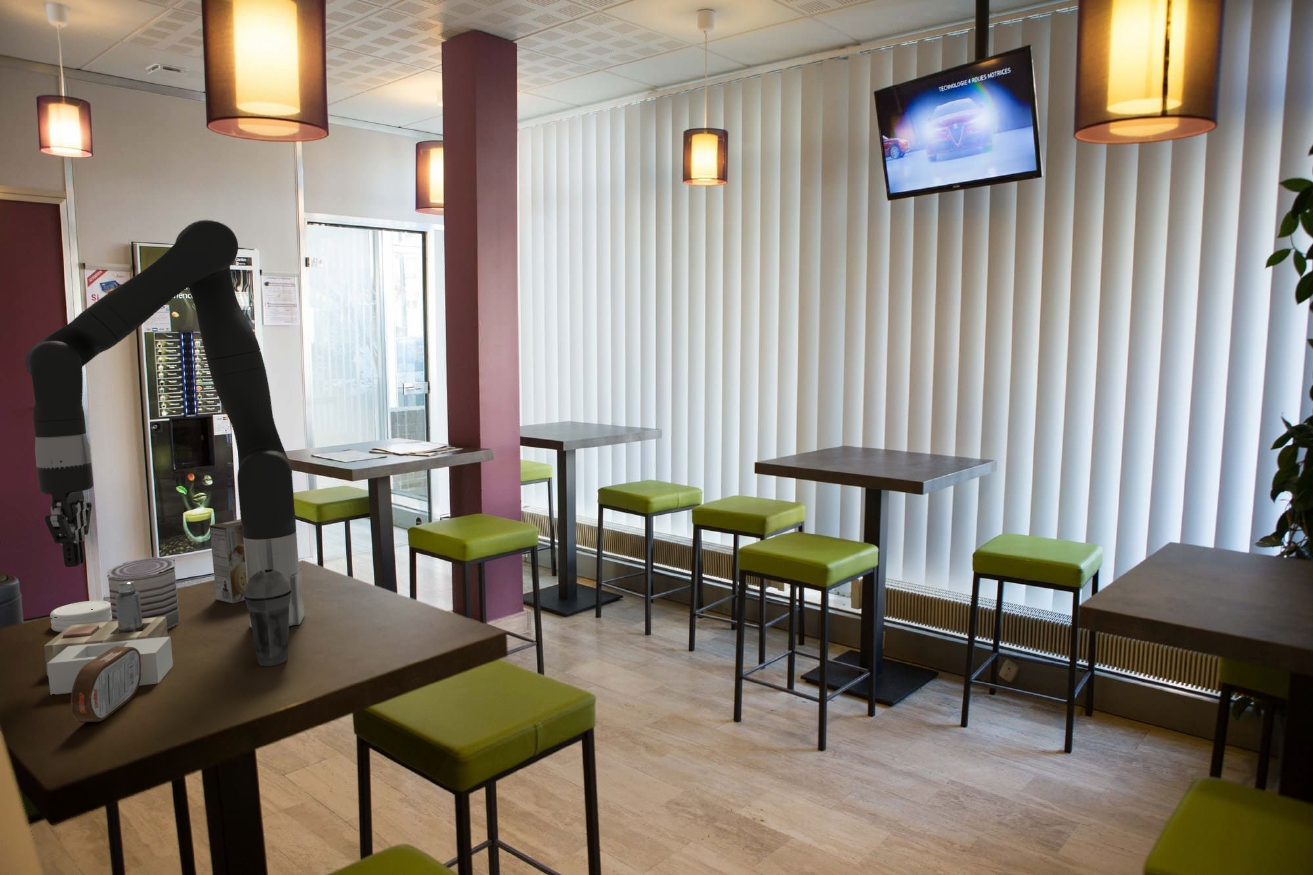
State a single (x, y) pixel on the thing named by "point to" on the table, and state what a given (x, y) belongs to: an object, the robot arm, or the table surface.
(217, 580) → the coffee box
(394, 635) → the table surface
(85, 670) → the tin
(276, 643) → the beverage cup
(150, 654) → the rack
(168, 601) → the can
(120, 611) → the stepped metal cylinder
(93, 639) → the socket block
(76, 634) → the key
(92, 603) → the white round container
